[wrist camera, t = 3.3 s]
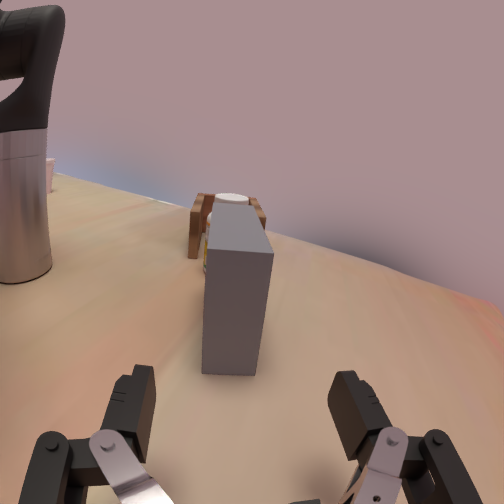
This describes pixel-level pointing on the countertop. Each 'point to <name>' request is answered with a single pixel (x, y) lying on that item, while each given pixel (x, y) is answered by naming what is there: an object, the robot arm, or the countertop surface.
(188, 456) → the countertop surface
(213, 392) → the countertop surface
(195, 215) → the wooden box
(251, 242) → the grey rectangular box
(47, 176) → the smoothie
